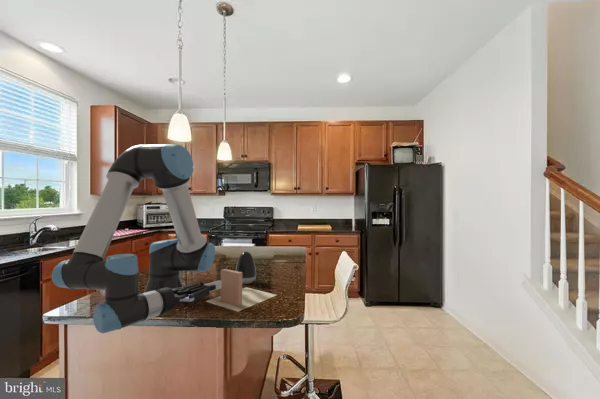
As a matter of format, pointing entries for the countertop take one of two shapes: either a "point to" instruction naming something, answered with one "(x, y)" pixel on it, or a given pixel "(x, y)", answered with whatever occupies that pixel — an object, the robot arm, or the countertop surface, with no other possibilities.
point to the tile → (231, 287)
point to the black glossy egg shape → (246, 267)
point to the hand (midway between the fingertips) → (220, 284)
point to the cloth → (244, 299)
